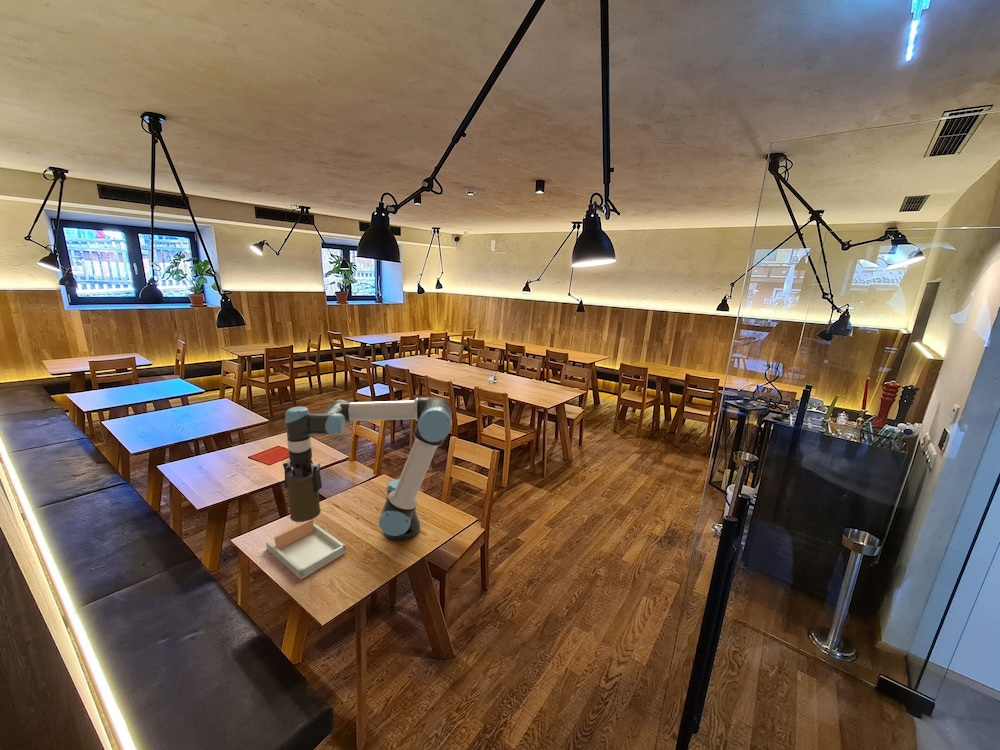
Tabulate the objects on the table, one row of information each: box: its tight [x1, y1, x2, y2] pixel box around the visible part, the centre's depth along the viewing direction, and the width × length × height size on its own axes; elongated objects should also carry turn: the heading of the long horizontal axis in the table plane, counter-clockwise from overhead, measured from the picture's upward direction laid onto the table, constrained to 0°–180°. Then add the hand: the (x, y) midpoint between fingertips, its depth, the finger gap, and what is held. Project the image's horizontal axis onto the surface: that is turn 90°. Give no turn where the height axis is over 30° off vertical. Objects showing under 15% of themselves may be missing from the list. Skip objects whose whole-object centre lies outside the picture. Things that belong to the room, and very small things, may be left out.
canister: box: [286, 467, 321, 523], centre depth 145 cm, size 11×10×20 cm
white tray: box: [265, 522, 347, 580], centre depth 153 cm, size 26×18×3 cm
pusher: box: [274, 519, 315, 550], centre depth 159 cm, size 7×15×6 cm, turn 144°
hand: (305, 504), depth 147 cm, fingers open, 6 cm apart
